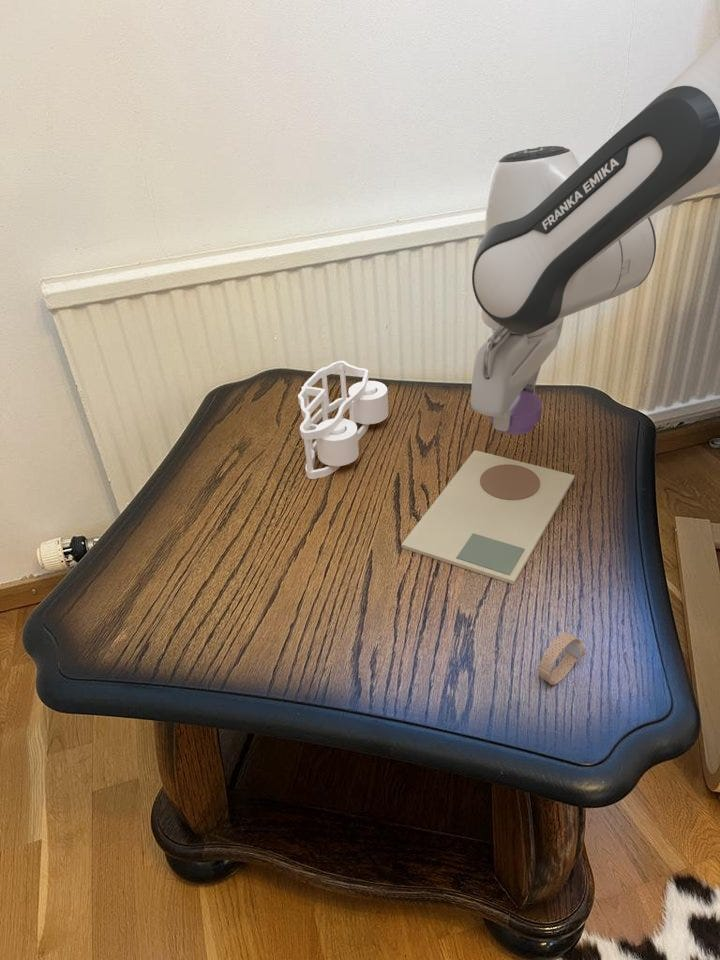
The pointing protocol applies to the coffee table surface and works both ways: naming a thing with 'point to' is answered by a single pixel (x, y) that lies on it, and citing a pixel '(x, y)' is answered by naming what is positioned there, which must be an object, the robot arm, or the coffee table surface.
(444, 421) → the coffee table surface
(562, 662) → the perforated watch strap
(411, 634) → the coffee table surface
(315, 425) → the car outline toy
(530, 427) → the lavender hockey puck
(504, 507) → the mat
